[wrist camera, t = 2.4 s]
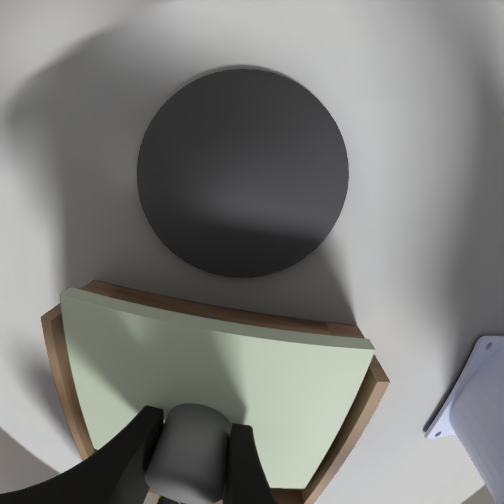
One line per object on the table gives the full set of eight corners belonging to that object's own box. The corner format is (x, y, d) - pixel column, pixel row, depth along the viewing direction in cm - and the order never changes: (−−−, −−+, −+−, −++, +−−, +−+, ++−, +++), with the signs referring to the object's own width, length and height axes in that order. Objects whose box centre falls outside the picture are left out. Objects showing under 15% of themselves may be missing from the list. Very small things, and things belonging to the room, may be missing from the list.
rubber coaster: (358, 94, 10) (361, 91, 9) (323, 288, 12) (325, 291, 11) (160, 67, 10) (156, 64, 9) (132, 256, 12) (128, 258, 11)
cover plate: (303, 478, 11) (309, 537, 7) (99, 439, 11) (71, 489, 7) (368, 338, 9) (411, 412, 5) (70, 286, 9) (2, 332, 5)
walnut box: (301, 459, 14) (306, 512, 10) (111, 424, 14) (87, 469, 10) (357, 325, 12) (390, 381, 8) (94, 280, 12) (40, 316, 8)
